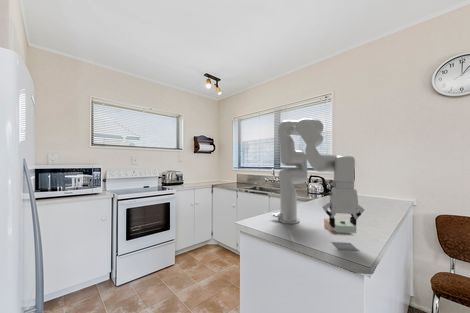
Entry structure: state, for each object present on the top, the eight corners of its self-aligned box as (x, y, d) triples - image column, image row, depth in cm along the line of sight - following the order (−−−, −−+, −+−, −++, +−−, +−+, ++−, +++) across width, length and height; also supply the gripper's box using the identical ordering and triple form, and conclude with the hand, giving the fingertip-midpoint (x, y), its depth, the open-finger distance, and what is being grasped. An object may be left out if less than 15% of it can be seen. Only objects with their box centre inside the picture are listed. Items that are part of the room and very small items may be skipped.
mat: (338, 251, 79) (338, 250, 79) (330, 243, 87) (330, 241, 87) (359, 252, 79) (359, 251, 79) (350, 243, 87) (350, 242, 87)
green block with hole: (336, 232, 81) (336, 224, 81) (329, 225, 88) (330, 217, 88) (356, 233, 80) (356, 225, 80) (347, 226, 87) (347, 218, 87)
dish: (330, 232, 100) (330, 223, 100) (324, 226, 109) (324, 218, 109) (349, 233, 99) (349, 224, 99) (341, 227, 108) (341, 219, 108)
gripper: (325, 186, 81) (324, 229, 81) (370, 187, 79) (369, 231, 79) (319, 183, 88) (318, 222, 89) (360, 184, 86) (359, 225, 87)
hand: (342, 226), depth 84 cm, fingers closed on green block with hole, 7 cm apart
